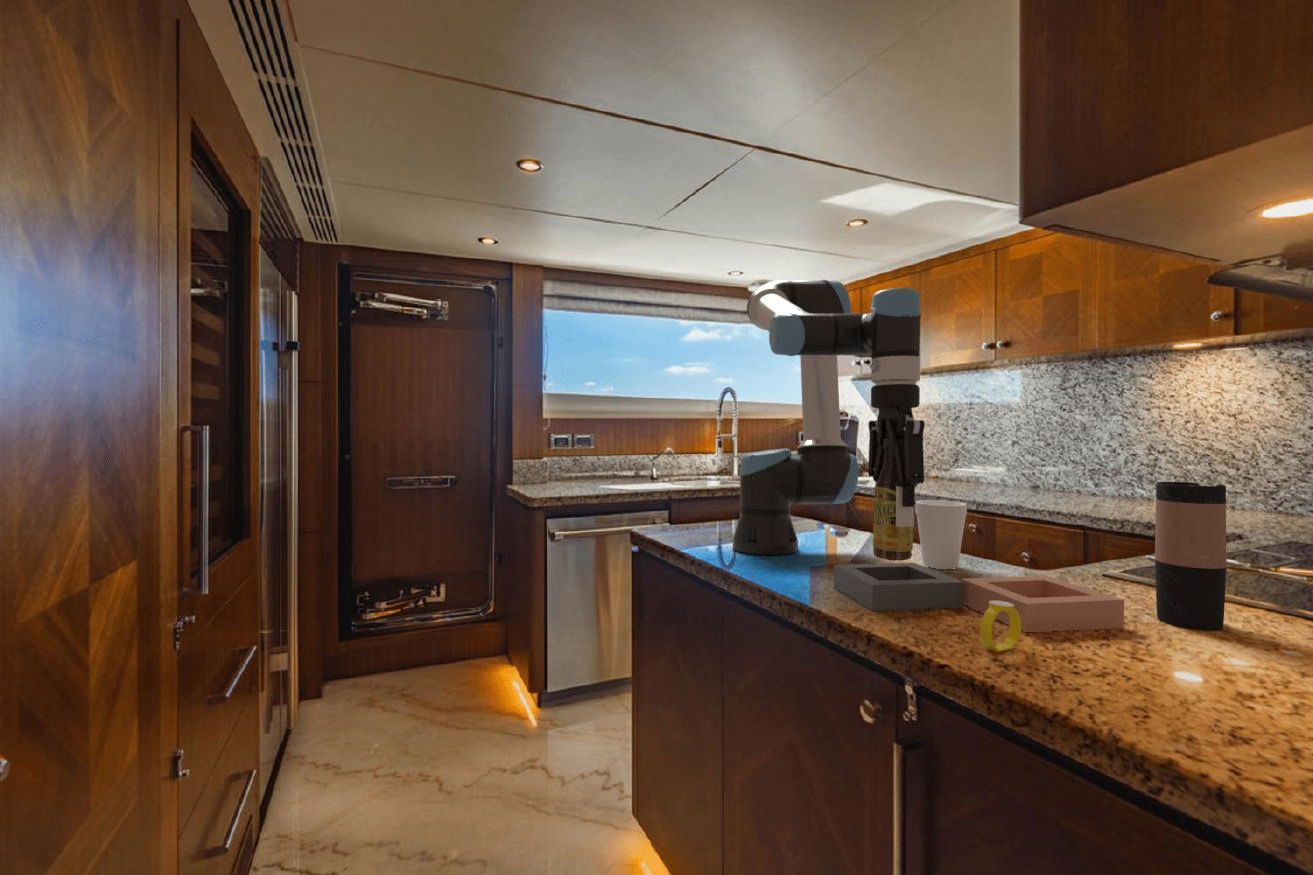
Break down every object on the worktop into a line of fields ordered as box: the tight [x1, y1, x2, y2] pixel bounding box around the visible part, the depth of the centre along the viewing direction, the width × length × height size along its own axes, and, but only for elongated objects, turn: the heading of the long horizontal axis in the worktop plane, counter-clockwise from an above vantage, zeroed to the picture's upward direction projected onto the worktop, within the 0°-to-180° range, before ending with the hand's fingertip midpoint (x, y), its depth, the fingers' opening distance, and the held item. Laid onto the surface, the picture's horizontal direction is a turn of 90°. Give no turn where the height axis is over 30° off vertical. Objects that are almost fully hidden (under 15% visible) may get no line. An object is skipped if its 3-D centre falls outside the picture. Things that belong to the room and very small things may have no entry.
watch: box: [979, 601, 1022, 653], centre depth 75 cm, size 6×3×6 cm, turn 115°
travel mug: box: [1154, 481, 1227, 632], centre depth 85 cm, size 8×8×20 cm
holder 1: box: [833, 562, 964, 612], centre depth 99 cm, size 14×15×4 cm
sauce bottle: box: [872, 439, 914, 562], centre depth 99 cm, size 7×6×20 cm
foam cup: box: [914, 499, 968, 570], centre depth 121 cm, size 10×9×13 cm
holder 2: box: [960, 575, 1125, 633], centre depth 89 cm, size 14×15×4 cm
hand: (893, 522), depth 99 cm, fingers closed on sauce bottle, 6 cm apart
